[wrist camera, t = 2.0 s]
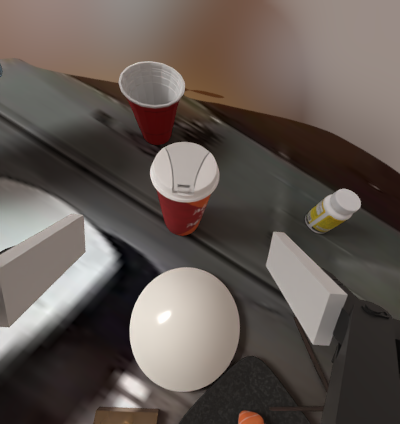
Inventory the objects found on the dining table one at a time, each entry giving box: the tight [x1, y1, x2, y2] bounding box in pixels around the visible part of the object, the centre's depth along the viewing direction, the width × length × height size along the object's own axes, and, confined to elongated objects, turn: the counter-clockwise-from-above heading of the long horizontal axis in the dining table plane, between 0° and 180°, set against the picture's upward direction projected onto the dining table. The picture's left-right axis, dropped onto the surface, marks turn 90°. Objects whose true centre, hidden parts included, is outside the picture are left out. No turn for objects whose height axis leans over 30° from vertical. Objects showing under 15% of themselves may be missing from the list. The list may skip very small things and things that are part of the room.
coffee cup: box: [150, 142, 219, 236], centre depth 31 cm, size 8×8×15 cm
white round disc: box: [130, 267, 240, 392], centre depth 30 cm, size 15×15×1 cm
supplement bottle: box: [305, 189, 361, 234], centre depth 37 cm, size 5×5×8 cm
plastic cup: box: [119, 61, 185, 145], centre depth 41 cm, size 11×11×12 cm
